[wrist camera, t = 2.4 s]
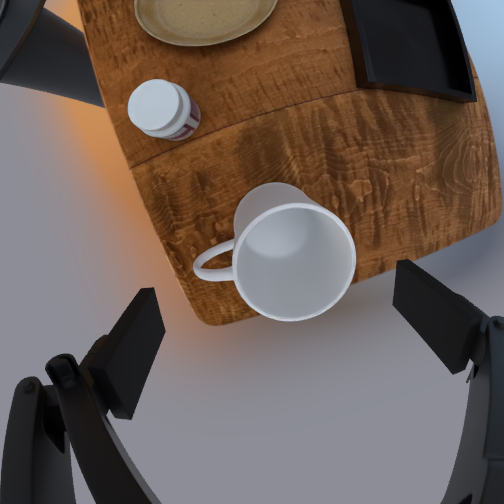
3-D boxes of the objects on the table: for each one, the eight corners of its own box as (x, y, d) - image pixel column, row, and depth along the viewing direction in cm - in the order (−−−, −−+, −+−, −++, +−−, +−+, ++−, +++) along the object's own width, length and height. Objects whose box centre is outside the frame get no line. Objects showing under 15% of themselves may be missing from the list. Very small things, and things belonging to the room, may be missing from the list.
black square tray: (356, 87, 25) (368, 81, 22) (332, -24, 20) (339, -36, 17) (462, 103, 25) (477, 101, 22) (437, 2, 20) (449, -5, 17)
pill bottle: (166, 90, 25) (138, 67, 17) (208, 104, 25) (195, 84, 17) (147, 132, 26) (113, 124, 18) (189, 147, 27) (168, 144, 19)
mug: (211, 273, 31) (195, 339, 19) (195, 195, 28) (163, 220, 17) (319, 256, 31) (359, 312, 19) (311, 177, 28) (356, 190, 16)
